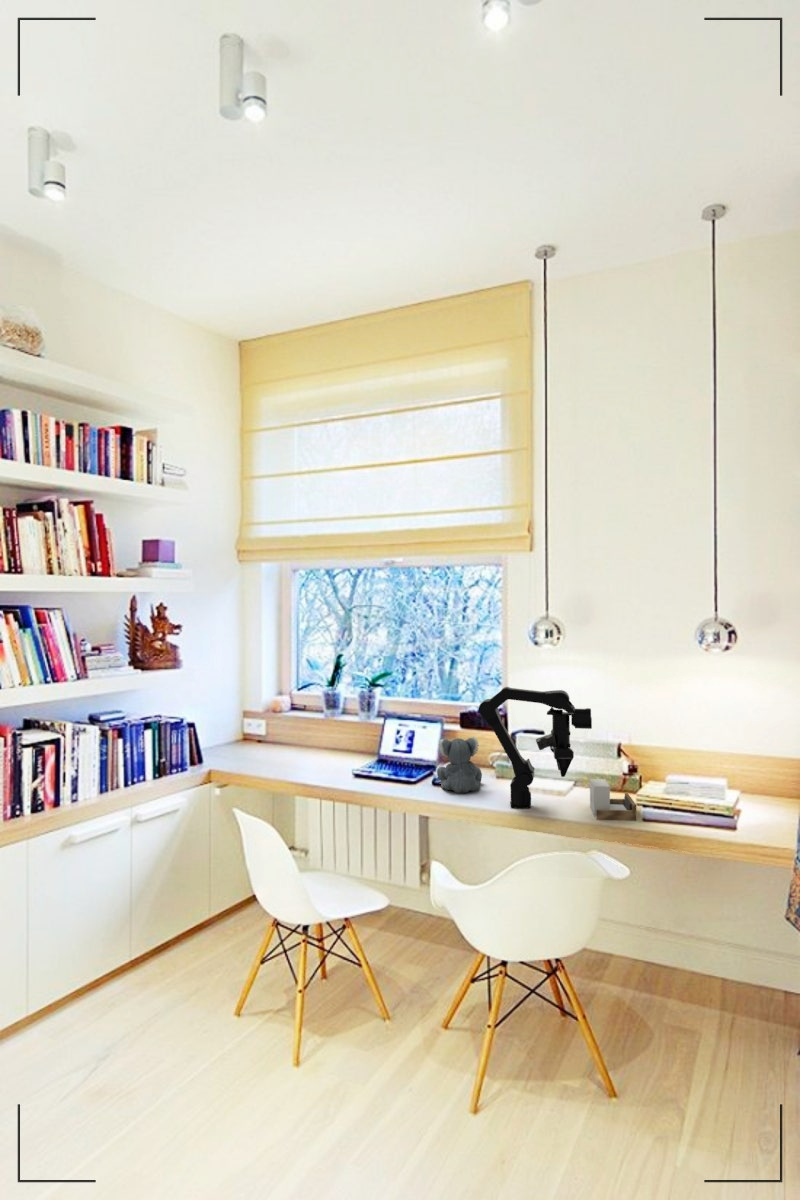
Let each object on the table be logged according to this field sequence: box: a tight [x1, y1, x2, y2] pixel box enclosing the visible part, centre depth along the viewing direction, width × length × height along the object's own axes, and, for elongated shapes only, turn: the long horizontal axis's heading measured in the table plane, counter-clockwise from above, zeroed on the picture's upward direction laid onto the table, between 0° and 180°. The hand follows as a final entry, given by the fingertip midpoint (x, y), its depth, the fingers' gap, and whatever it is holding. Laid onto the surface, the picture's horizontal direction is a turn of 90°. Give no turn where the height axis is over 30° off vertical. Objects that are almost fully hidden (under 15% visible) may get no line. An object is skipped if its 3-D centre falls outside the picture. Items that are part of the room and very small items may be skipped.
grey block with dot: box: [589, 778, 626, 817], centre depth 254 cm, size 11×10×10 cm
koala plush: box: [436, 736, 483, 794], centre depth 287 cm, size 17×18×20 cm
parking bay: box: [596, 792, 637, 821], centre depth 253 cm, size 12×14×5 cm
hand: (561, 773), depth 259 cm, fingers open, 9 cm apart
